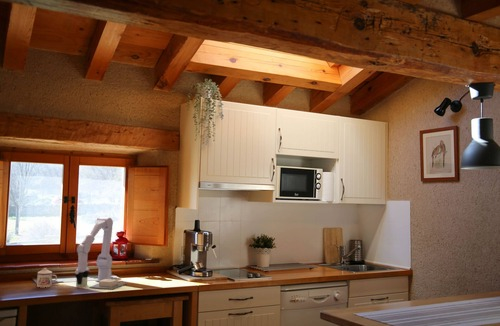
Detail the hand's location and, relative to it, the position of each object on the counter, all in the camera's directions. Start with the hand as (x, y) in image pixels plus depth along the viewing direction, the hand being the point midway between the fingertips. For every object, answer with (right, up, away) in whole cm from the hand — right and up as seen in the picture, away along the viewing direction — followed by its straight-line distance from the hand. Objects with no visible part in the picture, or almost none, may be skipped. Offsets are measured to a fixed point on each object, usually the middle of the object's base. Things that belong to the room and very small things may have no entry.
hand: (81, 283), depth 326 cm
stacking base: (+17, -2, 0) cm, 18 cm away
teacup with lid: (-21, -1, -6) cm, 22 cm away
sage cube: (0, -1, 0) cm, 1 cm away
